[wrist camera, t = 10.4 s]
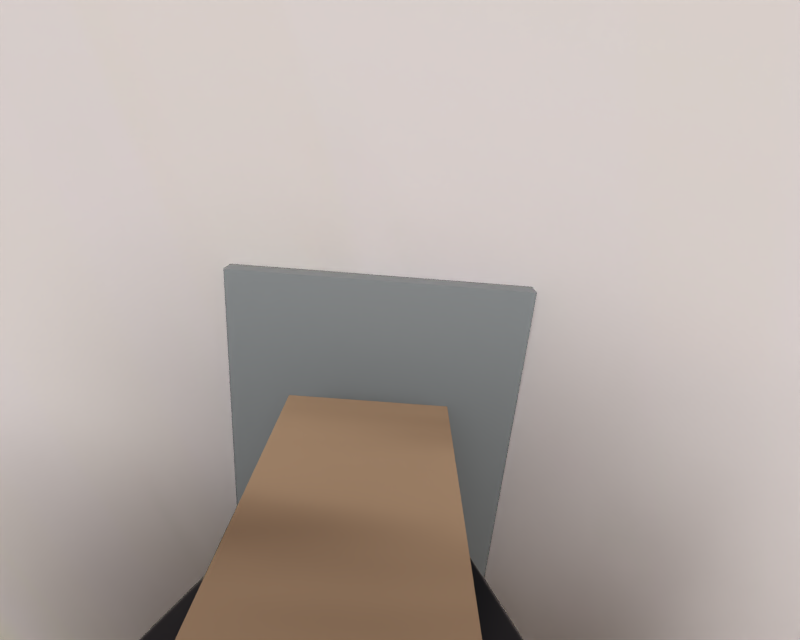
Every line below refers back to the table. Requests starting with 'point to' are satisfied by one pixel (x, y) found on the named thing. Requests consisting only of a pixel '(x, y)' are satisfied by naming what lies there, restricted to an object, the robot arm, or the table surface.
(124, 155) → the table surface
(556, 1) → the table surface
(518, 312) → the mat
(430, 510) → the brown stepped block
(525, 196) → the table surface
